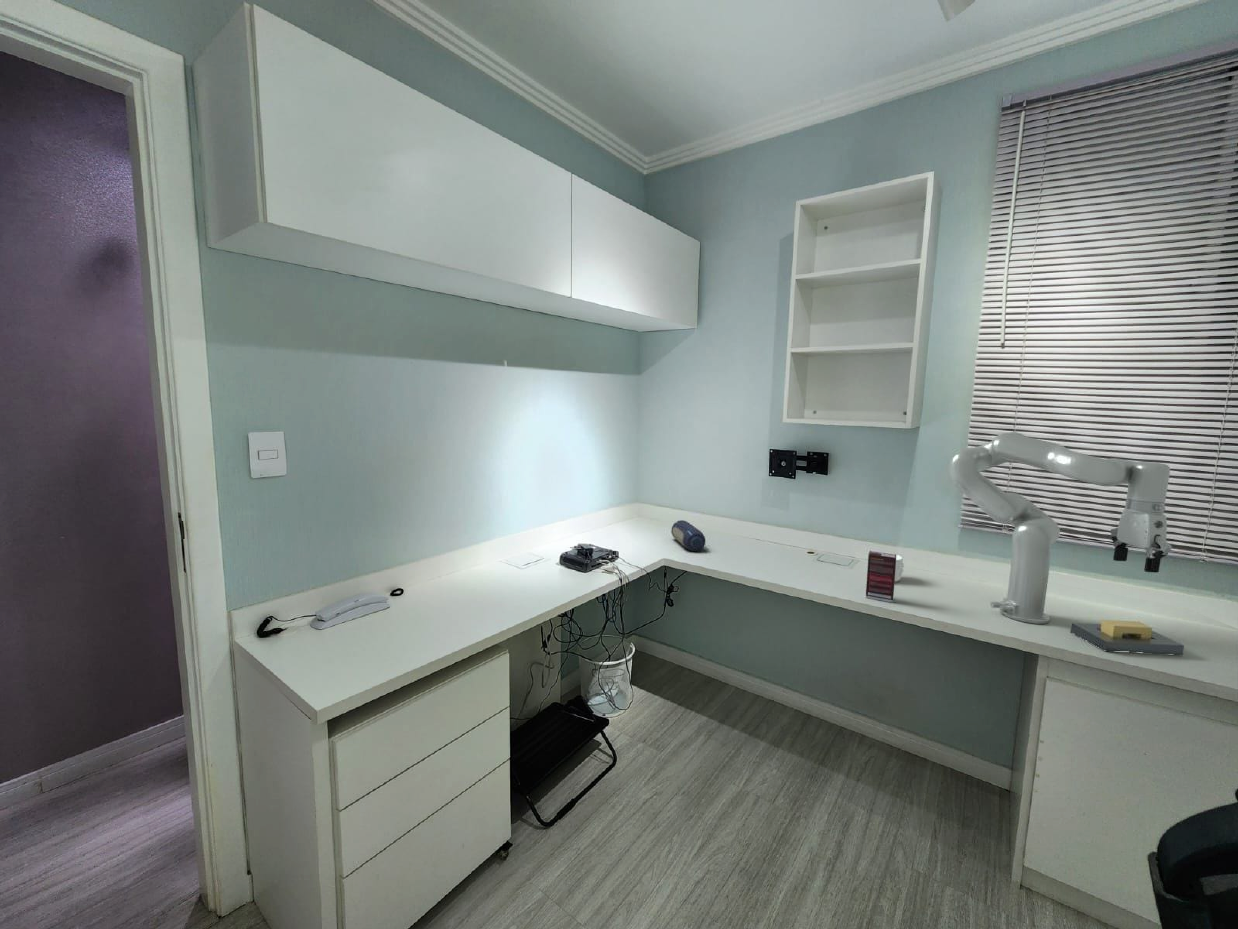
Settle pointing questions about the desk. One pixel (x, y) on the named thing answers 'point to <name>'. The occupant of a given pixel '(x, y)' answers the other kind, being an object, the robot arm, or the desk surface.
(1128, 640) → the grey slotted board
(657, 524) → the desk surface
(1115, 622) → the yellow u-shaped block
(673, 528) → the portable speaker
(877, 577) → the supplement box
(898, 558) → the mug
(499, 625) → the desk surface
